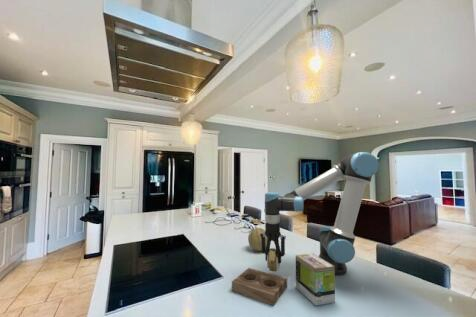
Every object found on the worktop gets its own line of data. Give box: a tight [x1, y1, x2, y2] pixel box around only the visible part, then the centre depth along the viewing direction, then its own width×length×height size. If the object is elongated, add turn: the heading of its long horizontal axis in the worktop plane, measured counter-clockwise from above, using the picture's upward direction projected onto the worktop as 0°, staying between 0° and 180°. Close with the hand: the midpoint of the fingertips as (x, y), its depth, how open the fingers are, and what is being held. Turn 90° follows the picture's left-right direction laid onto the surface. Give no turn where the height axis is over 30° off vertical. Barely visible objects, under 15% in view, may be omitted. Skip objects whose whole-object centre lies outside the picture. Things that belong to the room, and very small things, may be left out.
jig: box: [231, 267, 288, 306], centre depth 98 cm, size 16×20×4 cm
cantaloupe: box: [247, 226, 267, 252], centre depth 146 cm, size 15×15×15 cm
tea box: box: [295, 253, 336, 306], centre depth 95 cm, size 15×10×15 cm, turn 17°
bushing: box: [268, 247, 278, 273], centre depth 111 cm, size 4×4×10 cm
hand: (273, 268), depth 111 cm, fingers closed on bushing, 4 cm apart
